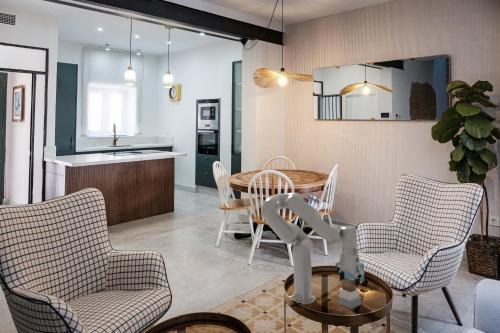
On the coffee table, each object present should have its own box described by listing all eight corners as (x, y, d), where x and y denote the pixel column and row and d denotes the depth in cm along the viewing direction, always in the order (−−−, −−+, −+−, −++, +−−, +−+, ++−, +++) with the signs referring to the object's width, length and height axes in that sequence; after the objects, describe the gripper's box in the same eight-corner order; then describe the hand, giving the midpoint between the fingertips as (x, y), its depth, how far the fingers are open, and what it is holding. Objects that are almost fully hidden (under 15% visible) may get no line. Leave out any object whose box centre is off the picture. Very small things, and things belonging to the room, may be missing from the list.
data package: (363, 281, 224) (363, 261, 223) (364, 284, 219) (363, 264, 218) (343, 280, 227) (342, 260, 226) (343, 282, 222) (342, 263, 222)
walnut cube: (350, 292, 189) (349, 282, 189) (342, 289, 193) (342, 280, 193) (356, 289, 192) (356, 280, 192) (348, 286, 196) (348, 277, 196)
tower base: (351, 309, 188) (351, 301, 187) (338, 304, 194) (338, 296, 194) (361, 304, 192) (361, 297, 192) (348, 300, 199) (348, 292, 199)
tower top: (349, 300, 188) (349, 293, 188) (339, 296, 194) (339, 289, 194) (359, 297, 192) (358, 289, 192) (348, 293, 198) (348, 285, 198)
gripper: (368, 252, 187) (368, 285, 188) (340, 245, 200) (341, 276, 201) (358, 255, 182) (359, 289, 183) (331, 248, 196) (331, 280, 197)
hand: (349, 282), depth 192 cm, fingers open, 9 cm apart
